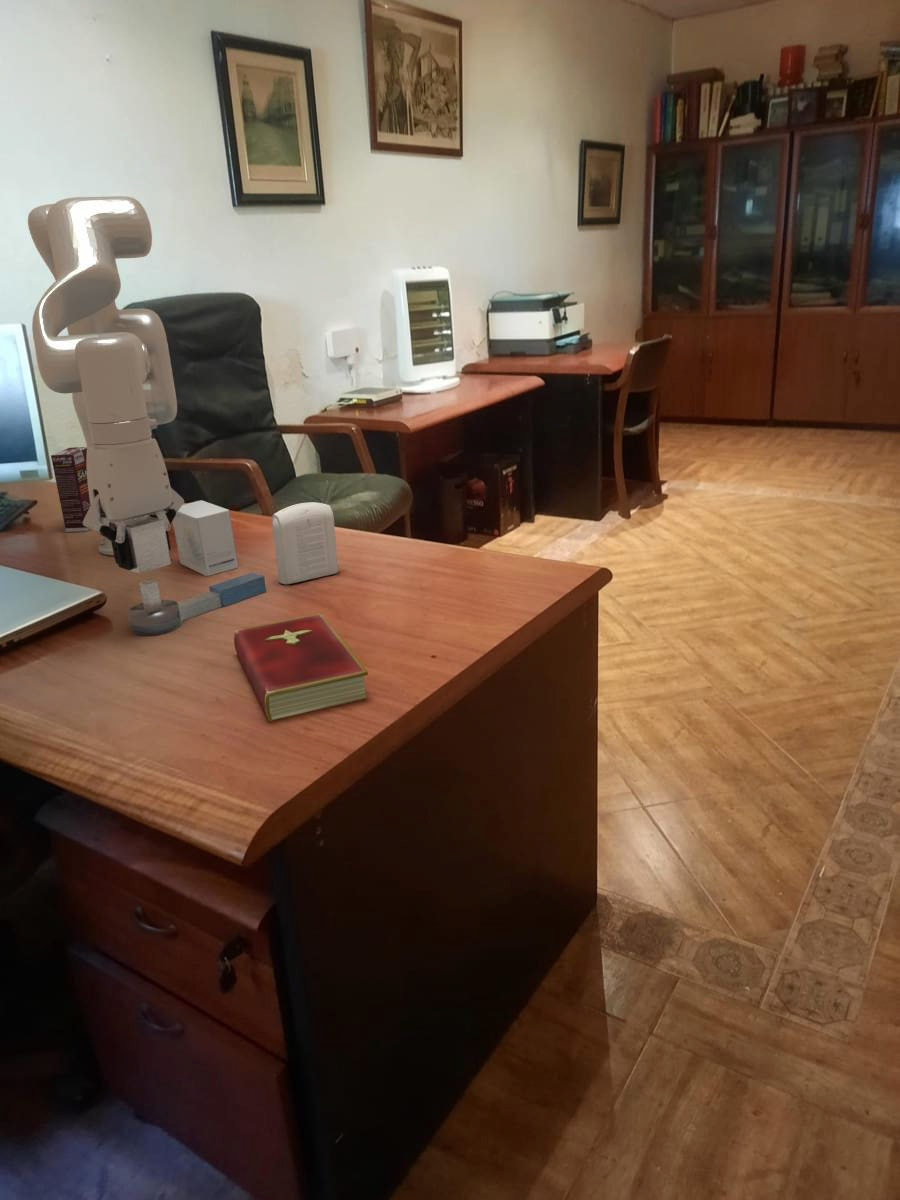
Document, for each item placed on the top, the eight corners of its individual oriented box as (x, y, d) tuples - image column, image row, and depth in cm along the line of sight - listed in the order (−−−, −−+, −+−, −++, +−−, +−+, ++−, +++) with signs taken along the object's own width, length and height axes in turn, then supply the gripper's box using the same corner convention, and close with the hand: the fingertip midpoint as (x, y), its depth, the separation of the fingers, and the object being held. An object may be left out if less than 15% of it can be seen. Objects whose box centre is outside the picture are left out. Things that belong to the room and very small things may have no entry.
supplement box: (88, 531, 179) (72, 454, 174) (65, 533, 179) (48, 455, 174) (104, 520, 187) (90, 446, 182) (82, 521, 187) (67, 447, 182)
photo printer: (331, 567, 149) (324, 495, 145) (343, 573, 146) (335, 500, 141) (274, 581, 144) (265, 507, 140) (285, 587, 141) (276, 512, 136)
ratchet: (121, 629, 127) (113, 584, 125) (246, 585, 143) (241, 545, 140) (147, 639, 123) (139, 594, 121) (273, 593, 138) (268, 552, 136)
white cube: (120, 567, 124) (111, 523, 122) (152, 558, 127) (144, 515, 125) (138, 573, 121) (130, 528, 118) (171, 563, 124) (163, 519, 122)
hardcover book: (268, 726, 98) (263, 692, 97) (236, 657, 117) (231, 628, 115) (370, 702, 103) (367, 669, 101) (324, 640, 121) (321, 611, 119)
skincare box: (178, 564, 155) (168, 506, 152) (211, 555, 159) (202, 499, 156) (205, 577, 148) (195, 516, 144) (239, 568, 152) (231, 508, 148)
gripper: (162, 421, 126) (182, 543, 132) (45, 441, 114) (74, 574, 120) (191, 424, 121) (211, 551, 127) (73, 446, 109) (101, 584, 116)
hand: (144, 561), depth 124 cm, fingers closed on white cube, 5 cm apart
